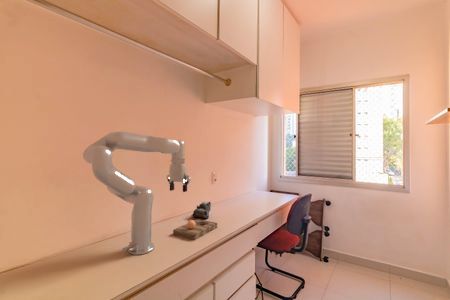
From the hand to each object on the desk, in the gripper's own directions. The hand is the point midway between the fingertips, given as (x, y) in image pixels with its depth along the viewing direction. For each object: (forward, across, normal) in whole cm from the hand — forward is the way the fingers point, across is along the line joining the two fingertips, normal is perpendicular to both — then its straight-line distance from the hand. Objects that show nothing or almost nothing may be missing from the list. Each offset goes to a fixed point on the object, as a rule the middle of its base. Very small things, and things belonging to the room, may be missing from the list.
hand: (178, 191), depth 131 cm
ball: (+21, +4, +7) cm, 23 cm away
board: (+27, +4, +12) cm, 29 cm away
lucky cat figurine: (+27, -9, +37) cm, 47 cm away
